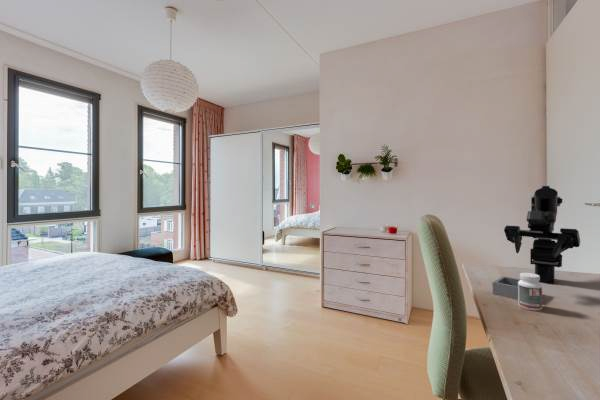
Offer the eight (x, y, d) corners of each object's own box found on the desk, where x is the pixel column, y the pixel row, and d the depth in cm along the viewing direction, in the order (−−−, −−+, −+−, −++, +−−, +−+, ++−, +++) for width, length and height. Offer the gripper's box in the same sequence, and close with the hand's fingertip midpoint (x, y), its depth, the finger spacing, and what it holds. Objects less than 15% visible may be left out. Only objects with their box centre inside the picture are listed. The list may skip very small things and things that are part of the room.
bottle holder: (502, 286, 102) (502, 276, 102) (537, 294, 94) (537, 282, 94) (492, 293, 96) (492, 282, 96) (529, 302, 88) (529, 289, 88)
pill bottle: (546, 311, 82) (546, 278, 81) (524, 310, 83) (524, 277, 82) (534, 303, 87) (534, 272, 87) (513, 302, 88) (513, 271, 88)
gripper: (505, 203, 101) (494, 234, 94) (578, 202, 86) (570, 240, 79) (513, 224, 105) (502, 256, 98) (583, 228, 90) (576, 265, 83)
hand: (534, 254), depth 89 cm, fingers open, 9 cm apart
